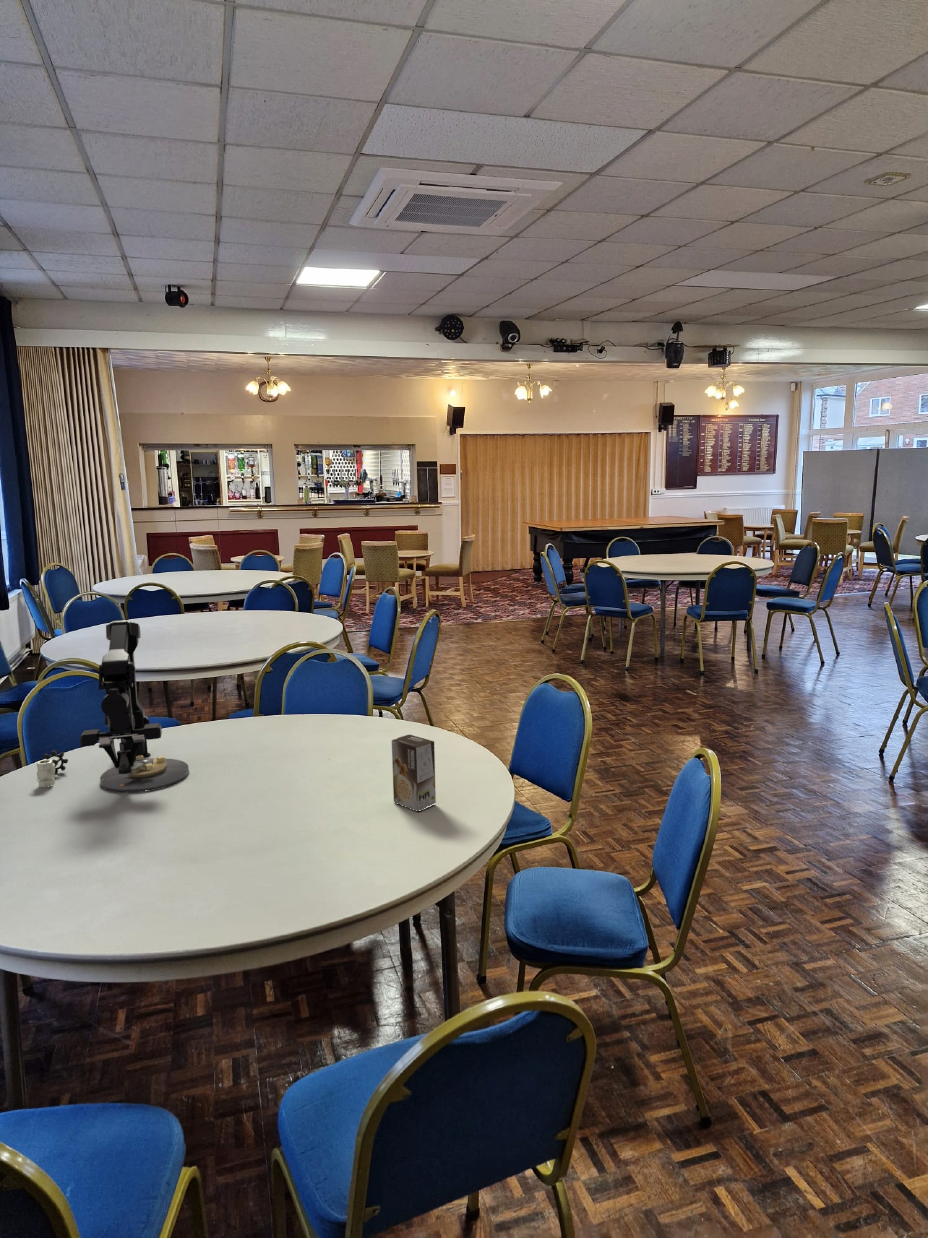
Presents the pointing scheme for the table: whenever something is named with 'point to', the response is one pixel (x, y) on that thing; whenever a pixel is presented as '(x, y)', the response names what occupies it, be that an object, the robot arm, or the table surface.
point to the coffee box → (413, 772)
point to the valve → (49, 768)
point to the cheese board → (139, 765)
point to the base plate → (145, 778)
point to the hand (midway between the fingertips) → (124, 767)
